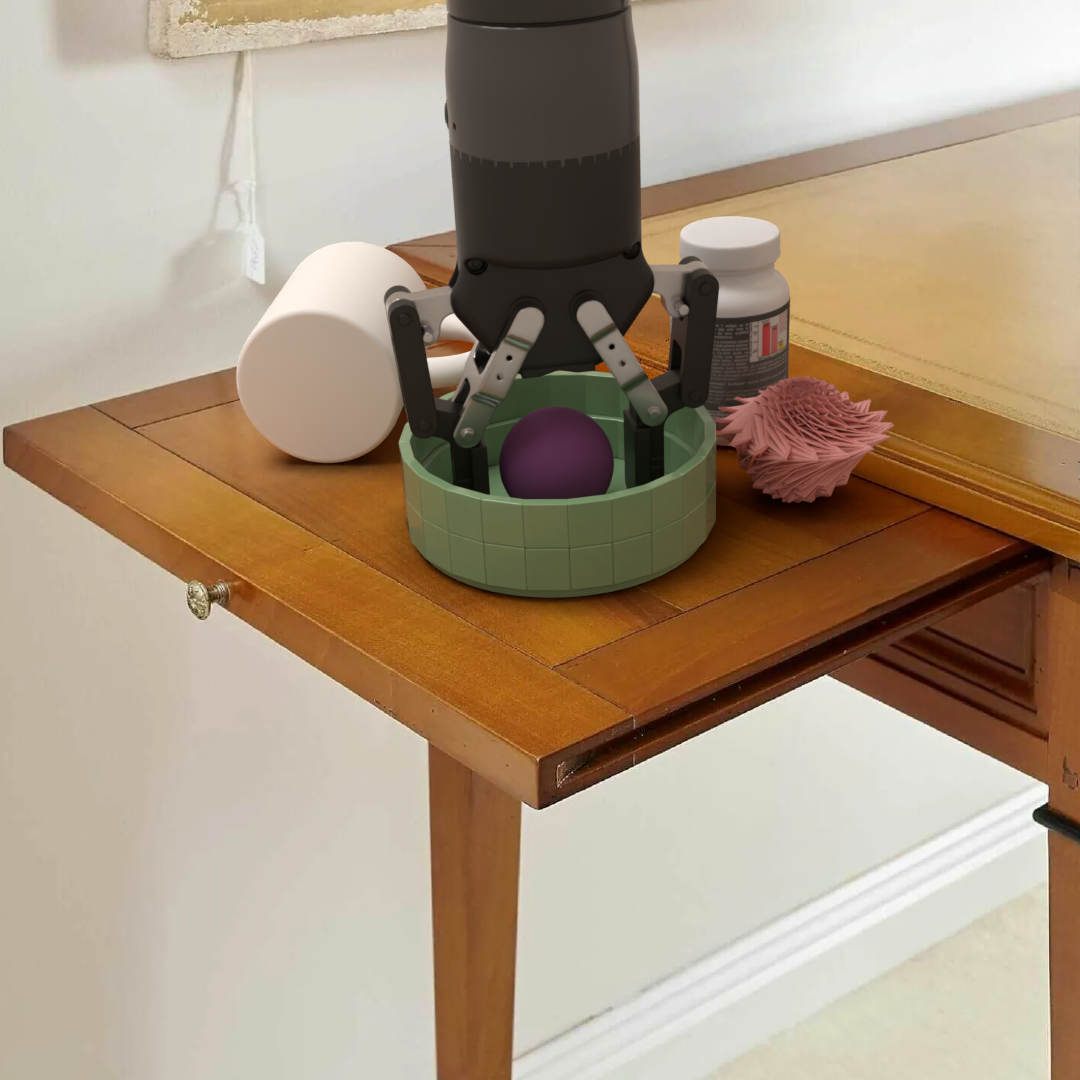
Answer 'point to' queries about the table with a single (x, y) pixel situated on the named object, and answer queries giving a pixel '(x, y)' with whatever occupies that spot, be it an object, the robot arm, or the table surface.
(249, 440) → the table surface
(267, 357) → the mug
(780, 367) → the pill bottle
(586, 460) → the ball
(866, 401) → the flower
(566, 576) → the bowl
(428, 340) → the robot arm
